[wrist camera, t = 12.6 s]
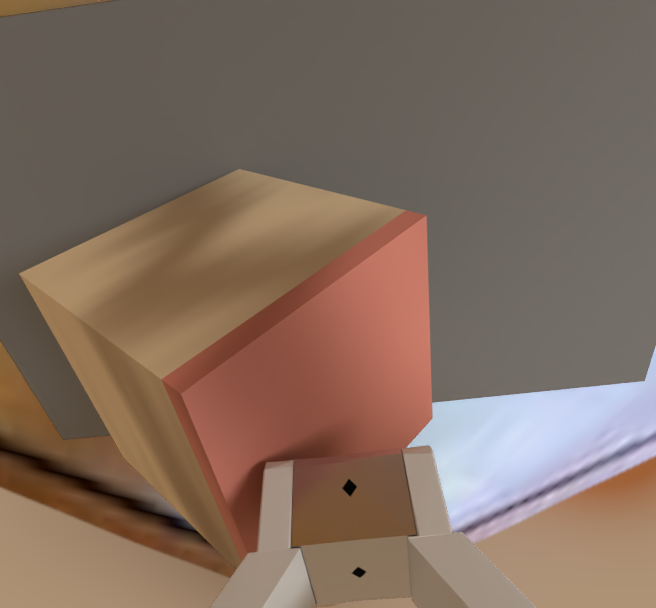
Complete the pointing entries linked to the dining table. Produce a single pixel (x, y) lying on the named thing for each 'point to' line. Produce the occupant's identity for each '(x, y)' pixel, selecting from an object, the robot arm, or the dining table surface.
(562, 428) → the dining table surface
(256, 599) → the robot arm
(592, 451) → the dining table surface
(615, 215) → the mat
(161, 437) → the cube
